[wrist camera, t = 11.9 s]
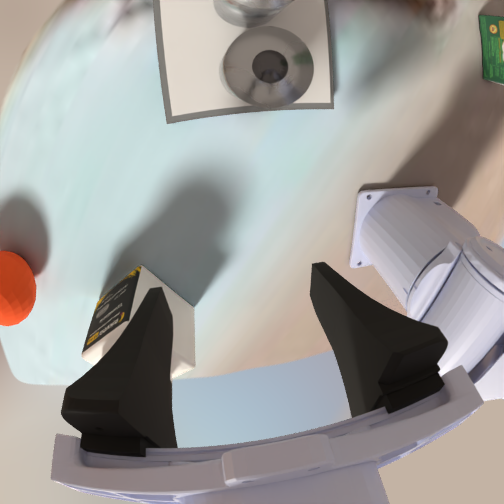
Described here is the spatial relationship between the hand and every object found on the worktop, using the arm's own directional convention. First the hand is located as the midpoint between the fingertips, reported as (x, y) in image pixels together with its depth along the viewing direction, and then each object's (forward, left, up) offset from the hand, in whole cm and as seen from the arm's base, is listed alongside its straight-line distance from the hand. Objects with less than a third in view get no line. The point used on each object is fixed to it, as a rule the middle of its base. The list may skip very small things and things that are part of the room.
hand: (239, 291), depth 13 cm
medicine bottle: (+9, +9, -10) cm, 16 cm away
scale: (-2, -14, -10) cm, 17 cm away
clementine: (+22, +2, -10) cm, 24 cm away
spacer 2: (-3, -10, -8) cm, 13 cm away
